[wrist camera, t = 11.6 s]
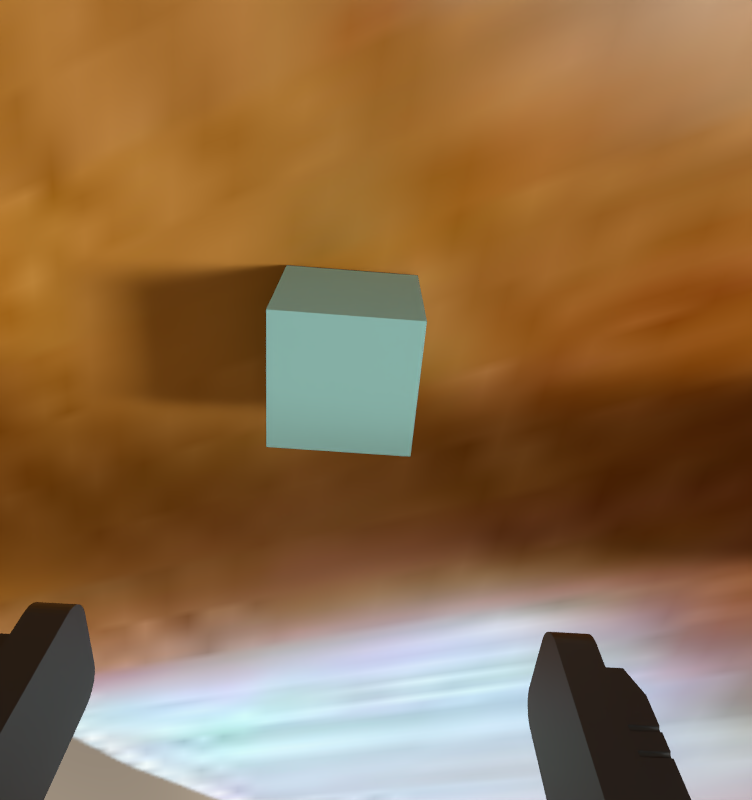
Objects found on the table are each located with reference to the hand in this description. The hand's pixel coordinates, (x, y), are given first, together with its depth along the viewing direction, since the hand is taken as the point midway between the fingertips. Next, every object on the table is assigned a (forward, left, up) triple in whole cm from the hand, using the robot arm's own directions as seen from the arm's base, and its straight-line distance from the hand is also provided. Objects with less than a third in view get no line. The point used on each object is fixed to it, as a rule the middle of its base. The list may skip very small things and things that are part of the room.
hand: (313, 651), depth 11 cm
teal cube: (0, 0, -16) cm, 16 cm away
